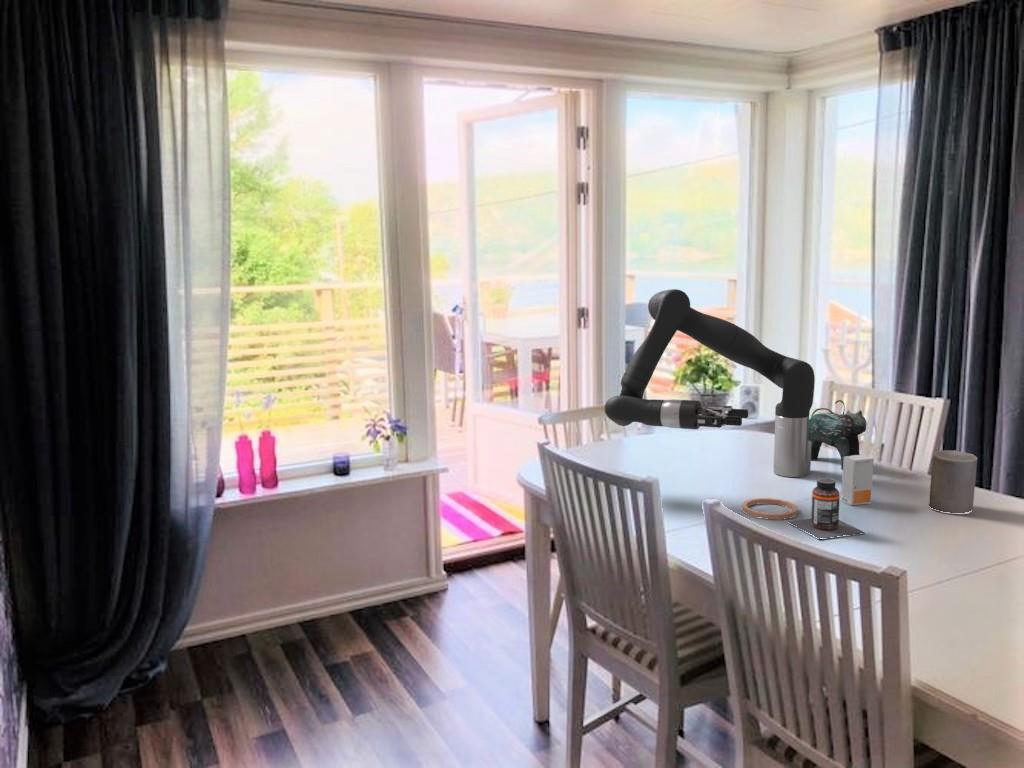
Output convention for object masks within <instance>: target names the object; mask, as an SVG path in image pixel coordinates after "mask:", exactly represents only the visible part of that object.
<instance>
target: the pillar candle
mask: <svg viewBox="0 0 1024 768" xmlns="http://www.w3.org/2000/svg"><path fill="white" fill-rule="evenodd" d="M931 462H932V463H931V473H930V474H931V475H930V487H929V503H928V505H929V506H930V507H931V508H933V509H936V510H939V511H943V512H950V513H965V512H969V511H971V510H973V509H974V503H975V502H974V501H975V488H976V477H977V467H978V465H977V464H978V457H977V456H976V455H974V454H973V453H968V452H966V451H965V452H964V451H959V450H958V451H957V450H956V449H954V450H945V449H943V450H937V451H934V452H933V453H932V461H931ZM929 506H928V507H929ZM930 507H929V508H930ZM931 508H930V509H931ZM973 511H974V510H973Z"/></svg>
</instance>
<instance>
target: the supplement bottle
mask: <svg viewBox="0 0 1024 768" xmlns="http://www.w3.org/2000/svg"><path fill="white" fill-rule="evenodd" d="M811 494H812V495H811V516H810V517H811V521H812V522H811V523H812V526H813V527H815V528H817V529H820V530H834V529H836V528H838V523H839V520H840V518H839V517H840V497H841V495H840V490H838V488H837V487H836V480H835V479H833V478H828V477H827V478H826V477H819V478H817V480H816V486H815V487H814V488H813V489H812V493H811Z"/></svg>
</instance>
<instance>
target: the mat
mask: <svg viewBox="0 0 1024 768" xmlns="http://www.w3.org/2000/svg"><path fill="white" fill-rule="evenodd" d="M788 522H789V523H791V524H793V525H795V526H797V527H798V528H800V529H802V530H804V531H806V532H808V533H810V534H812V535H814V536H815V537H817V538H819V539H820V538H830V537H837V536H843V535H853V534H860V533H865V531H863V530H862V529H859V528H857V527H856V526H853V525H851V524H850V523H846V522H845V521H843V520H840V519H839V523H838V528H836V529H834V530H820V529H817V528H815V527H813V526H812V523H811V522H812V521H811V518H804V519H795V520H789V521H787V523H788ZM789 523H788V524H789ZM798 528H797V529H798ZM800 529H799V530H800ZM860 535H861V534H860ZM853 536H854V535H853Z"/></svg>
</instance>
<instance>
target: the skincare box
mask: <svg viewBox="0 0 1024 768" xmlns="http://www.w3.org/2000/svg"><path fill="white" fill-rule="evenodd" d="M874 460H875V458H873V457H870V456H869V455H866V454H860V455H852V456H845V457H844V459H843V470H842V479H841V495H840V497H841V498H840V501H841V502H842V501H843V503H845V504H847V505H849V506H851V505H852V506H859V505H867V503H870V504H871V503H872V491H873V476H874V463H875V461H874Z"/></svg>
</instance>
